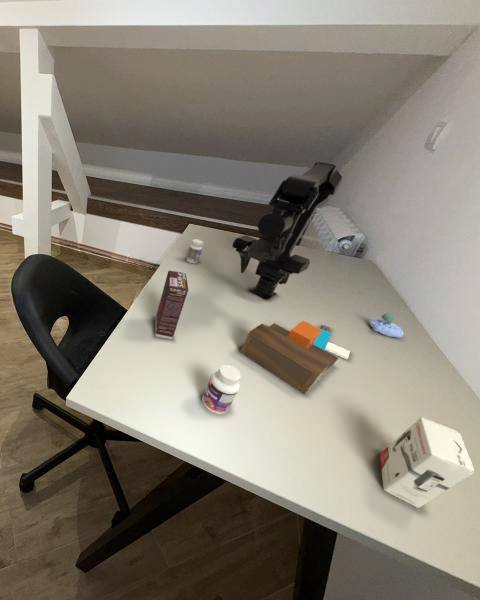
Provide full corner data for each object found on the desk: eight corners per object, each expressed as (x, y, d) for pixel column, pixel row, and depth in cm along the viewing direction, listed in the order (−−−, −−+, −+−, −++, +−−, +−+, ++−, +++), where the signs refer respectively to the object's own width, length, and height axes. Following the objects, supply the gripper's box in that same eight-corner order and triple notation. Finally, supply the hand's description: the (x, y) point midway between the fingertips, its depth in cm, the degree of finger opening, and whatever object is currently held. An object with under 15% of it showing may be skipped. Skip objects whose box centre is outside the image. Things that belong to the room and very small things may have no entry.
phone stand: (341, 376, 75) (345, 371, 74) (288, 350, 82) (291, 346, 81) (352, 339, 88) (356, 335, 87) (306, 320, 94) (308, 315, 93)
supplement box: (173, 340, 82) (189, 289, 73) (154, 336, 83) (168, 286, 74) (172, 320, 89) (186, 272, 80) (155, 317, 90) (167, 269, 81)
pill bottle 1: (196, 264, 120) (202, 244, 116) (184, 261, 122) (190, 241, 117) (199, 260, 124) (205, 241, 119) (187, 257, 126) (193, 237, 121)
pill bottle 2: (197, 393, 68) (211, 361, 62) (220, 393, 68) (236, 361, 63) (207, 415, 63) (223, 383, 58) (232, 414, 64) (250, 382, 58)
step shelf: (269, 331, 88) (280, 311, 84) (332, 366, 78) (347, 345, 74) (239, 351, 80) (249, 331, 76) (304, 394, 70) (320, 373, 66)
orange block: (294, 335, 83) (303, 320, 80) (312, 345, 80) (322, 330, 77) (282, 344, 79) (291, 329, 76) (300, 355, 76) (310, 340, 73)
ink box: (377, 452, 59) (420, 414, 52) (410, 467, 57) (459, 430, 50) (382, 491, 53) (431, 453, 46) (419, 510, 51) (476, 473, 44)
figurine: (372, 333, 91) (386, 315, 87) (364, 320, 96) (377, 303, 93) (405, 341, 89) (421, 323, 85) (395, 328, 94) (410, 310, 90)
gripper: (231, 221, 83) (213, 272, 92) (304, 248, 71) (275, 303, 80) (252, 215, 89) (233, 264, 98) (323, 239, 77) (294, 292, 86)
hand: (256, 279), depth 90 cm, fingers open, 9 cm apart
